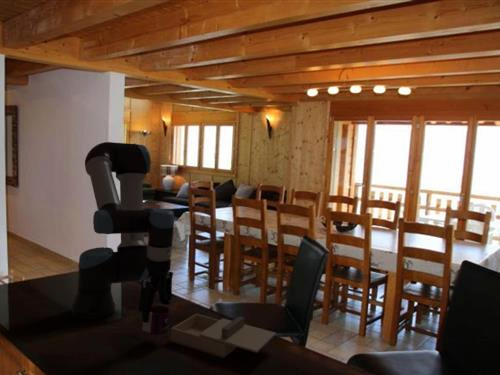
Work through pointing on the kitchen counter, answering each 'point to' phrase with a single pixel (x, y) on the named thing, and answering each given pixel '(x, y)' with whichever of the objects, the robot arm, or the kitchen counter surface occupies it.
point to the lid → (238, 334)
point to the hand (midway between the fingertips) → (154, 326)
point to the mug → (159, 320)
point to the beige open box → (189, 336)
